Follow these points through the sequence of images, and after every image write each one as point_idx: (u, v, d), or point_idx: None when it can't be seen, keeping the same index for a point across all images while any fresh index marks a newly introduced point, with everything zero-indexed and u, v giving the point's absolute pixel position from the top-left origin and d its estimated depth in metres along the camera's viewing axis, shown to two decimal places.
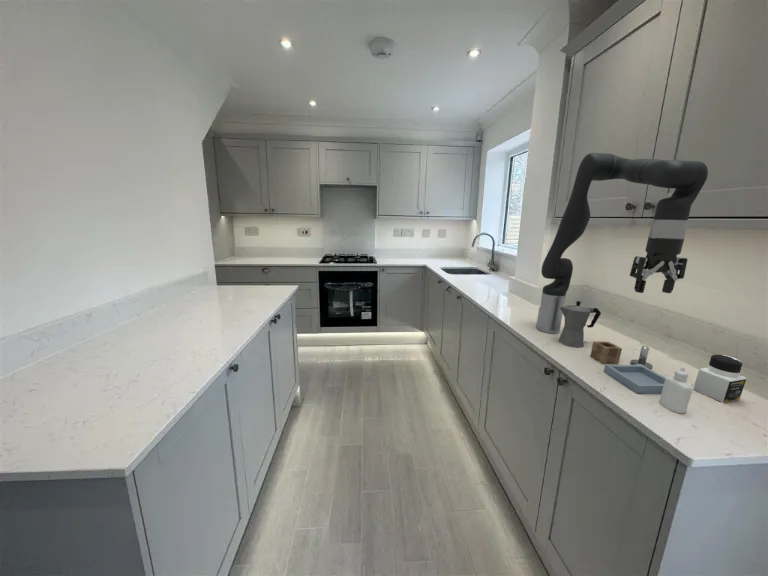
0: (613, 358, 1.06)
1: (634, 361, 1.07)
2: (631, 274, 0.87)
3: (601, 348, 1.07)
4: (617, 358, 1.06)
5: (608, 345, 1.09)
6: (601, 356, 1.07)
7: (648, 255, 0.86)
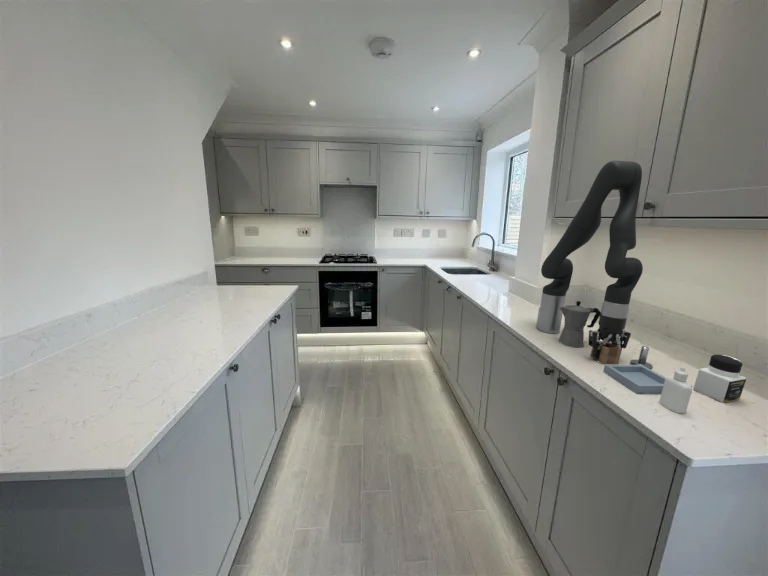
0: (613, 358, 1.06)
1: (634, 361, 1.07)
2: (589, 344, 1.08)
3: (601, 348, 1.07)
4: (617, 358, 1.06)
5: (608, 345, 1.09)
6: (601, 356, 1.07)
7: (600, 328, 1.07)
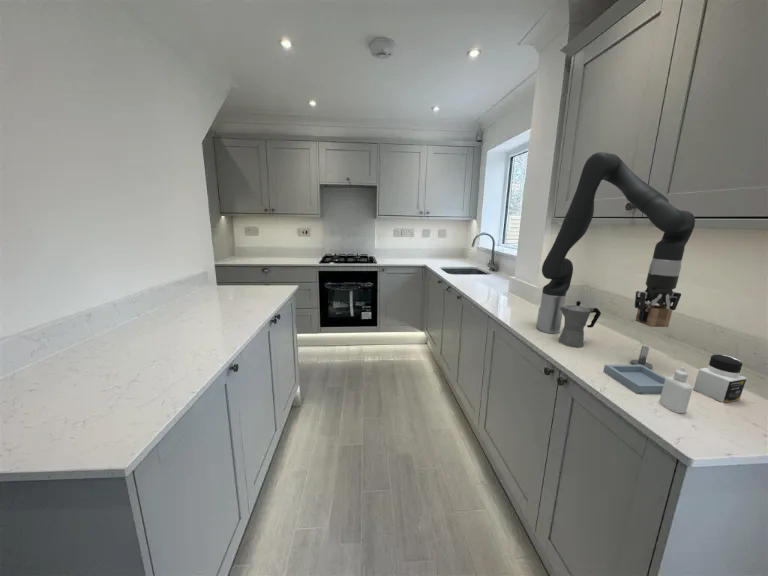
0: (662, 320, 0.99)
1: (634, 361, 1.07)
2: (636, 306, 1.02)
3: (649, 310, 1.00)
4: (667, 320, 0.99)
5: (656, 308, 1.03)
6: (649, 319, 1.00)
7: (648, 288, 1.00)
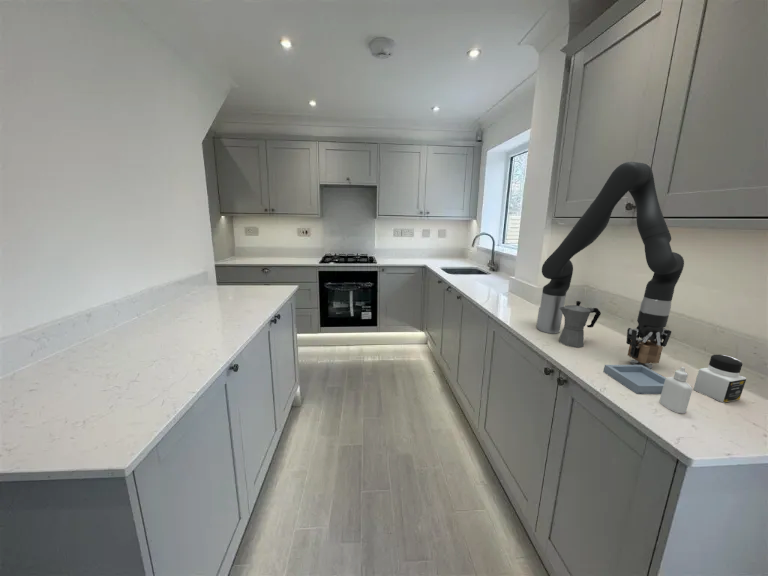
0: (653, 357, 1.02)
1: (634, 361, 1.07)
2: (627, 342, 1.05)
3: (640, 347, 1.03)
4: (657, 357, 1.02)
5: (647, 343, 1.06)
6: (640, 355, 1.03)
7: (639, 326, 1.03)
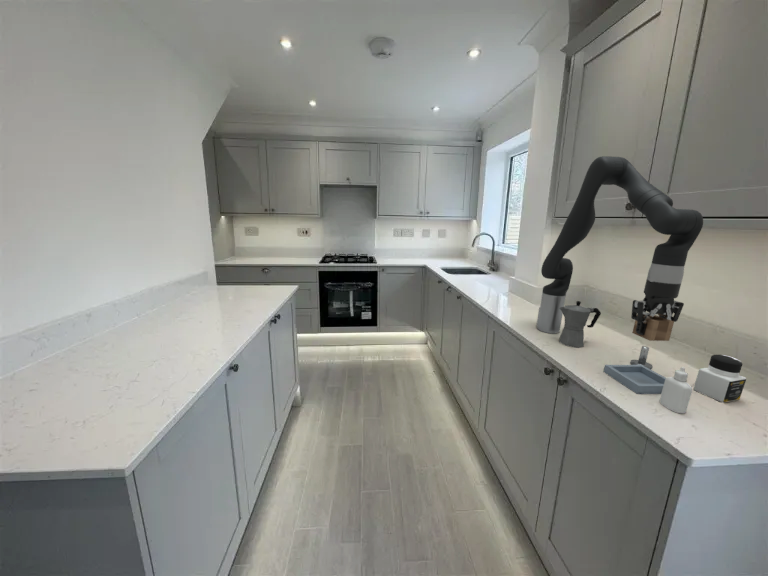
0: (663, 333, 0.88)
1: (634, 361, 1.07)
2: (632, 317, 0.90)
3: (648, 321, 0.89)
4: (668, 333, 0.88)
5: (655, 319, 0.91)
6: (648, 332, 0.89)
7: (646, 297, 0.89)
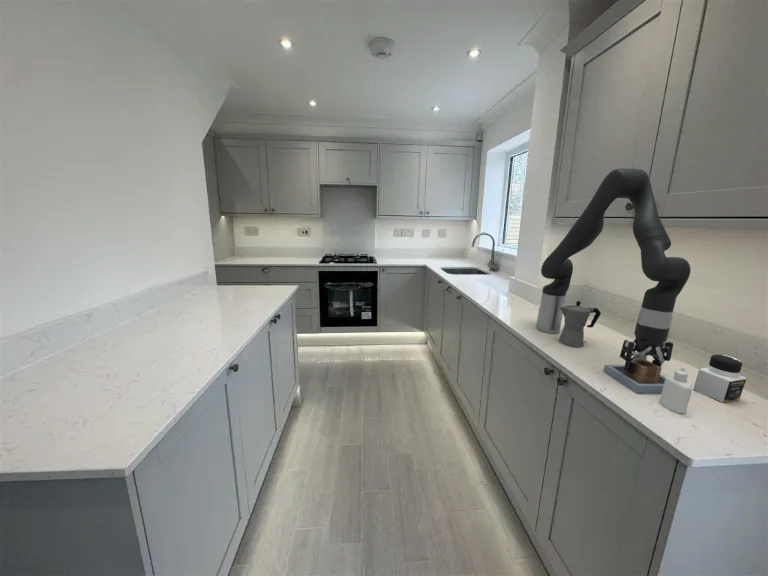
0: (651, 379, 0.91)
1: None
2: (621, 356, 0.93)
3: (637, 367, 0.92)
4: (656, 379, 0.91)
5: (644, 363, 0.95)
6: (636, 377, 0.92)
7: (636, 339, 0.92)
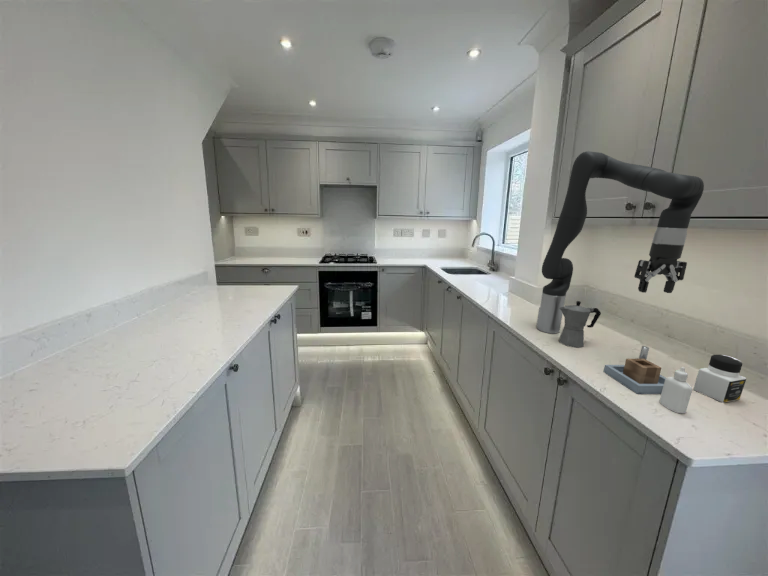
0: (651, 379, 0.91)
1: None
2: (635, 276, 0.98)
3: (637, 367, 0.92)
4: (656, 379, 0.91)
5: (644, 363, 0.95)
6: (636, 377, 0.92)
7: (651, 259, 0.96)
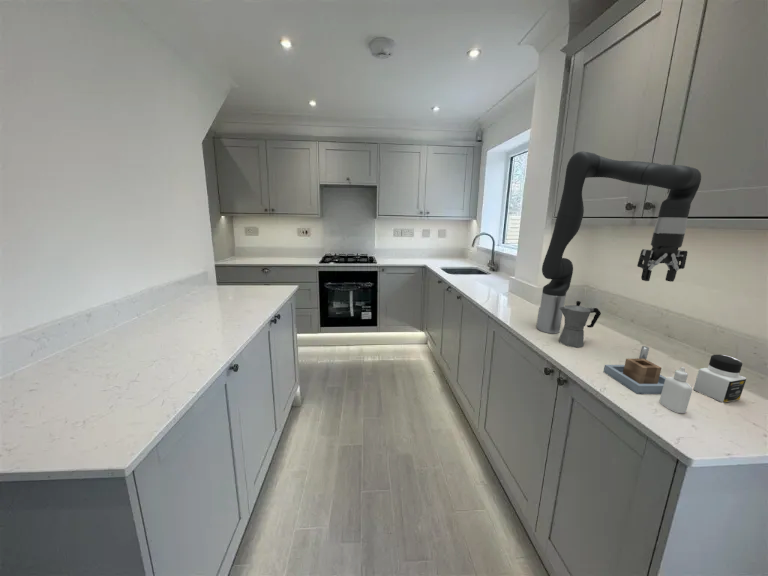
0: (651, 379, 0.91)
1: None
2: (638, 265, 1.00)
3: (637, 367, 0.92)
4: (656, 379, 0.91)
5: (644, 363, 0.95)
6: (636, 377, 0.92)
7: (653, 248, 0.99)
